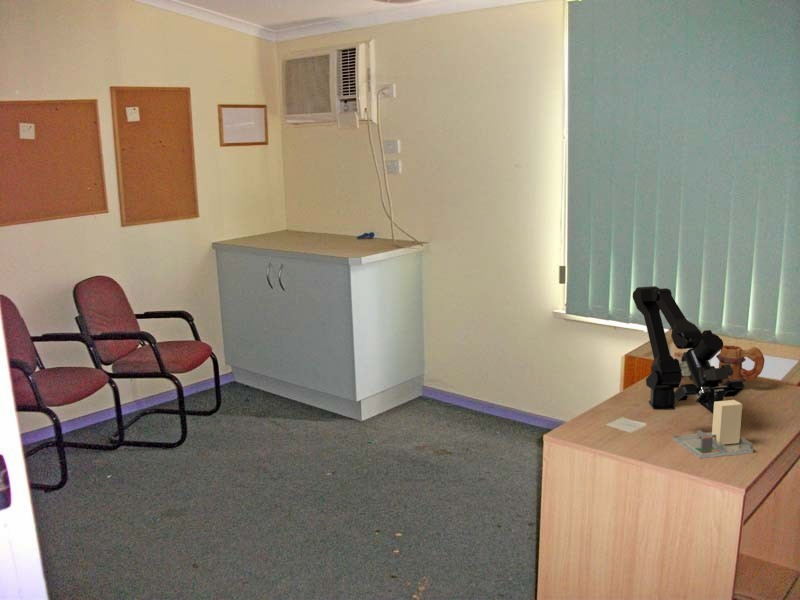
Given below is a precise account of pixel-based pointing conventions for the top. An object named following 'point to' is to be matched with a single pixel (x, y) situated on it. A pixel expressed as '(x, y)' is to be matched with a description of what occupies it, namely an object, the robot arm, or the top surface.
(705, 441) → the drag pointer
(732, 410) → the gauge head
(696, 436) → the gauge frame
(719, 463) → the top surface
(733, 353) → the mug
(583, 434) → the top surface
